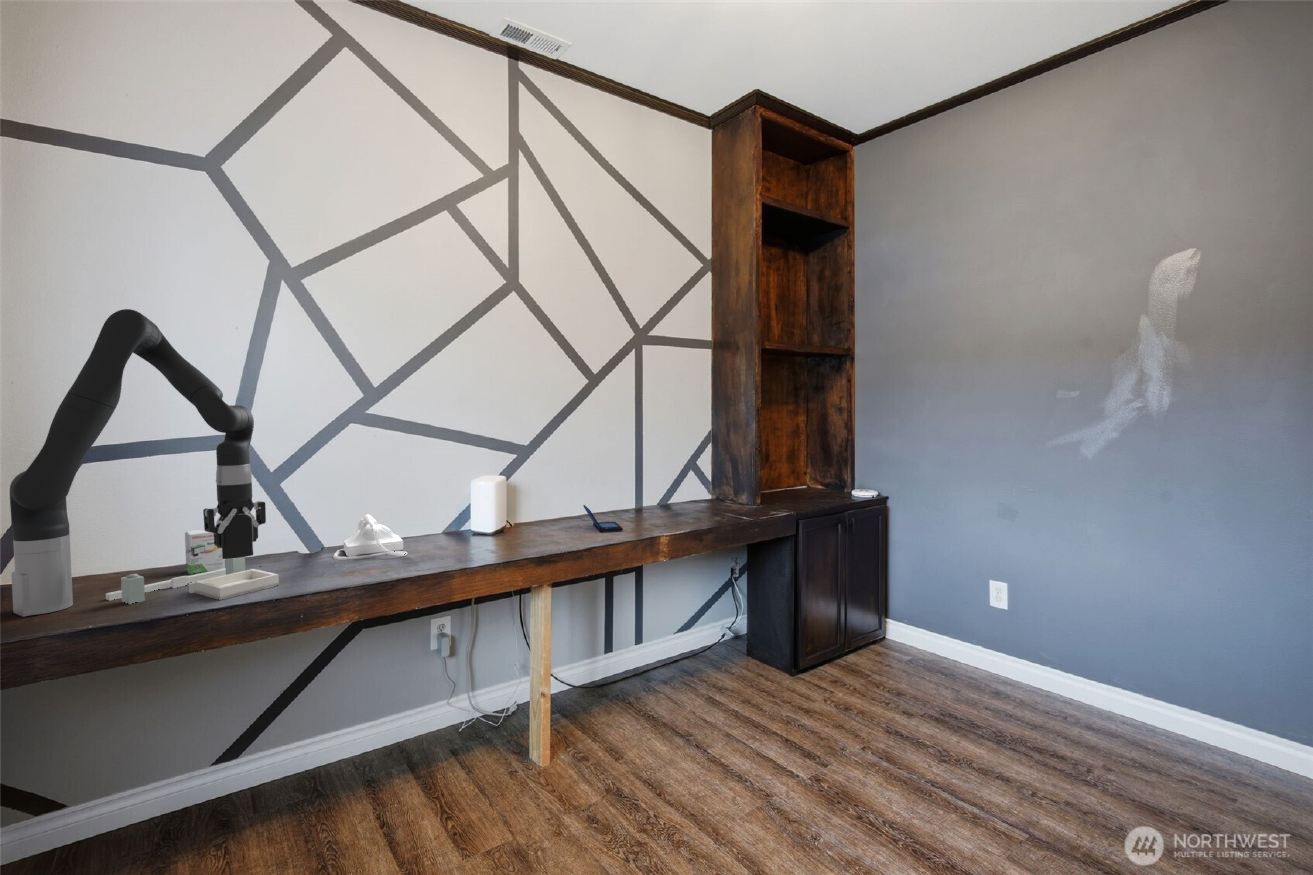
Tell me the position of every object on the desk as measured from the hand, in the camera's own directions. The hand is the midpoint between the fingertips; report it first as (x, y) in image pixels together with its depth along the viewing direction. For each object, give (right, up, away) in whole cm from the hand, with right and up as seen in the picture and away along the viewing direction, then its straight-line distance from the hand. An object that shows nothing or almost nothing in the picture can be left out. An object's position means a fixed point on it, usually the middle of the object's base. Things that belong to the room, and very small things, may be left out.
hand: (237, 544), depth 156 cm
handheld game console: (+89, -9, +80) cm, 120 cm away
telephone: (+15, -11, +40) cm, 44 cm away
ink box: (-23, -11, +19) cm, 32 cm away
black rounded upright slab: (0, -4, 0) cm, 4 cm away
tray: (0, -12, 0) cm, 12 cm away
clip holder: (-15, -12, +1) cm, 19 cm away
